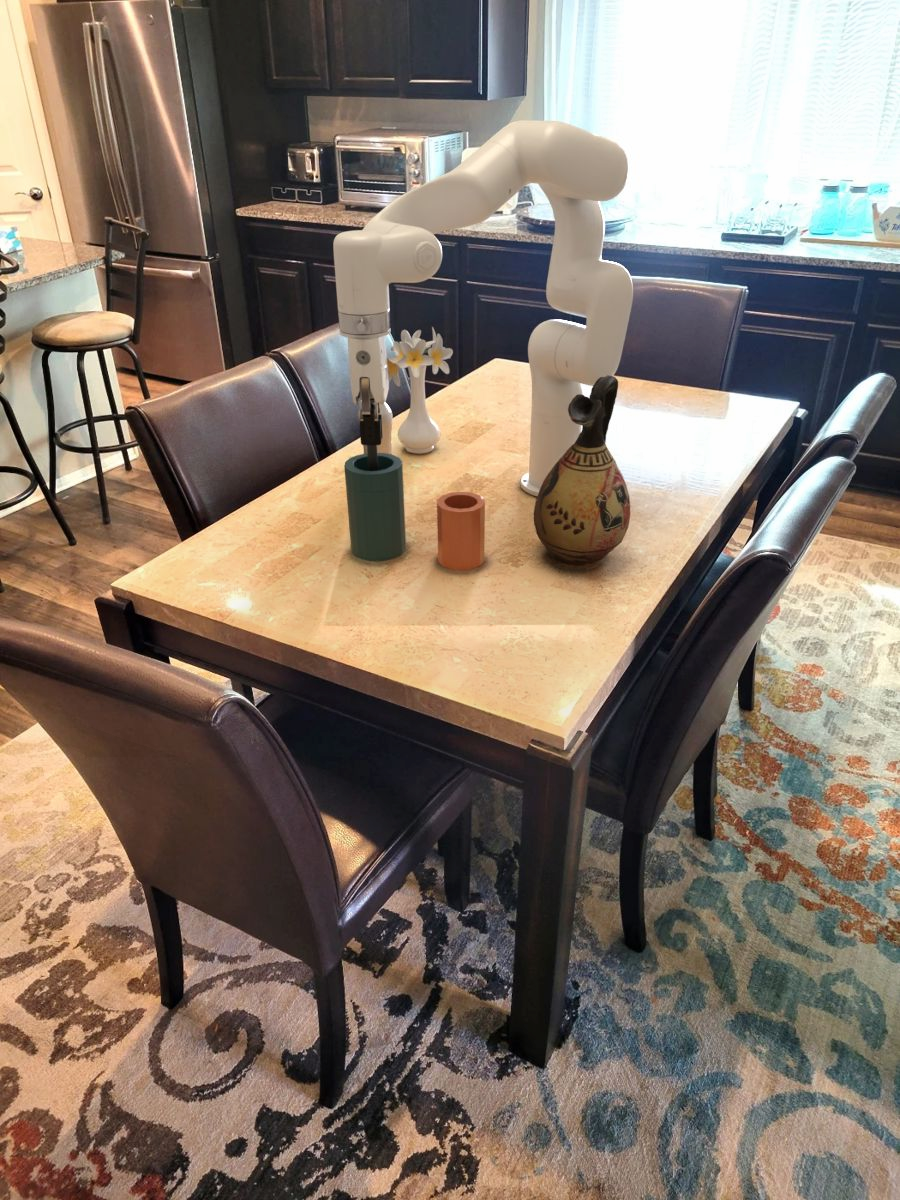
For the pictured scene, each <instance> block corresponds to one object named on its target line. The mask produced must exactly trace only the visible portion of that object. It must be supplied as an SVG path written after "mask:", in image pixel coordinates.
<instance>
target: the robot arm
mask: <svg viewBox="0 0 900 1200" xmlns="http://www.w3.org/2000/svg"><path fill="white" fill-rule="evenodd" d="M629 163H630V162H629V159H628V155H627V153H626V152H625V149H624V148H623V147H622V146H621V145H620V144H619V143H618V142H616V141H614V140H612V139H609V138H606V137H604V136H601V135H598V134H596V133H593V132H591V131H589V130H586V129H583V128H581V127H578V126H576V125H573V124H569V123H567V122H564V121H559V120H537V119H536V120H531V119H522V120H521V119H520V120H515V121H512V122H510V123H508V124H506V125H505V126H503V127H502V128H501V129H500V130H498V131H497V132H496V133H495V134H493V136H491V137H490V138H489V139H487V141H486V142H484V143H483V144H482V145H480V146H479V148H477V149H476V150H475V151H474V152H473V153H472V154H470V155H469V156H467V158H465V159H464V160H463V161H462V162H461V163H459V164H458V165H457V166H456V167H455V168H453V169H452V170H451V171H448V172H447V173H444V174H442V175H440V176H437V177H435V178H433V179H431V180H429V181H427V182H425V183H423V184H422V185H419V186H417V187H415V188H412V189H411V190H409V191H407V192H405V193H403V194H402V195H400V196H398V197H396V199H394V200H393V201H391V202H390V203H388V204H387V205H386V206H385V207H384V208H382V209H381V210H380V211H379V212H377V214H375V215H374V216H373V217H372V218H371V219H370V220H369V221H368V222H367V223H366V224H365V225H364V227H363V229H360V230H359V229H357V230H348V231H347V230H346V231H343V232H340V233H338V234H337V235H336V236H335V237H334V239H333V246H332V247H333V249H332V250H333V264H334V276H335V289H336V302H337V313H338V324H339V325H338V328H339V335H340V336H341V337H343V338H347V349H348V352H347V353H348V365H349V377H350V379H349V380H350V389H351V397H352V403H354V404H355V405H358V408H359V410H358V412H360V420H359V421H358V424H360V425H359V436H360V437H359V438H360V444H361V446H363V445H380V444H381V439H382V437H383V433H382V415H381V414H380V403H381V404H384V403H385V402H386V401H387V398H388V394H389V389H390V382H389V381H388V370H387V356H388V355H387V345H386V336H387V335H390V334H391V310H390V309H391V308H390V288H389V285H390V284H392V283H401V284H402V283H405V284H406V283H407V284H409V283H410V284H415V283H416V284H417V283H422V282H425V281H427V280H429V279H430V278H432V277H433V276H434V275H436V273H437V272H438V270H439V269H440V268H441V264H442V261H443V248H442V244H441V243H440V241H439V239H438V238H437V237H436V236H435V234H438V233H441V232H445V231H451V230H457V229H463V228H467V227H471V226H475V225H476V224H480V223H483V222H485V221H487V220H488V219H489V218H490V217H492V216H493V215H494V214H495V213H496V212H498V210H499V209H500V208H502V207H503V206H504V205H505V204H507V202H509V201H510V200H511V199H512V198H513V197H514V196H516V194H518V193H519V192H520V191H521V190H522V189H523V188H524V187H525V186H528V185H530V184H537V185H538V186H539V188H540V189H541V190H542V193H544V195H545V197H546V198H547V200H548V202H549V204H550V207H551V209H552V212H553V217H554V232H553V243H552V248H551V254H550V259H549V266H548V272H547V273H548V274H547V279H546V288H545V295H546V296H545V297H546V300H547V303H548V304H549V306H550V307H551V308H552V309H554V310H557V311H559V312H562V313H565V314H569V315H573V316H577V317H581V318H585V319H586V321H585V325H584V324H581V323H577V322H573V321H568V320H564V319H548V320H545V321H543V322H541V323H539V324H538V325H537V326H536V327H535V328H534V329H533V330H532V332H531V334H530V337H529V340H528V343H527V357H528V364H529V370H530V371H529V372H530V378H531V379H530V380H531V407H530V408H531V409H530V434H529V435H530V436H529V437H530V438H529V457H528V458H529V459H528V460H529V461H528V472H527V473H525V474H524V475H522V477H521V478H520V488H521V489H522V490H523V491H524V492H525V493H527V494H530V495H532V496H535V497H537V496H538V493H539V491H540V488H541V486H542V483H543V481H544V480H545V478H546V476H547V475H548V473H549V472H550V471H551V469H552V468H553V467H554V465H555V464H556V463H557V462H558V461H559V459H560V458H561V457H562V456H563V455H564V454H565V452H566V451H567V450H568V449H569V448H570V447H571V446H572V445H573V444H574V443H575V442H576V440H577V438H578V437H579V434H580V433H581V431H582V425H579V424H576V423H574V422H573V421H572V420H571V418H570V416H569V413H568V407H569V404H570V403H571V401H572V399H573V398H574V397H575V396H576V395H578V394H582V395H584V394H583V389H582V385H581V384H583V385H586V386H589V387H593V385H594V384H595V382H596V381H597V380H598V379H599V378H600V377H606V376H607V375H610V376H613V377H615V374H616V372H617V370H618V368H619V365H620V362H621V359H622V355H623V351H624V345H625V341H626V335H627V331H628V325H629V321H630V316H631V311H632V305H633V299H634V285H633V280H632V276H631V274H630V272H629V271H628V269H627V268H625V266H624V265H622V264H620V263H617V262H614V261H609V260H604V259H602V254H603V247H604V240H605V233H606V232H605V231H606V220H605V215H604V211H603V208H602V205H601V203H600V202H608V201H610V200H613V199H614V198H617V196H619V195H620V194H621V192H622V191H623V190H624V188H625V186H626V185H627V182H628V179H629V173H630V164H629ZM386 403H387V402H386Z"/></svg>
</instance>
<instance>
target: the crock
mask: <svg viewBox="0 0 900 1200" xmlns="http://www.w3.org/2000/svg"><path fill="white" fill-rule="evenodd" d="M436 524H437V526H436V527H437V562H438V563H439V565H440V566H442V567H443V568H446V569H448V570H453V571H469V570H474V569H477V568H479V567H480V566H482V565H483V564H484V562H485V541H486V539H485V537H486V535H485V531H486V529H485V527H486V501H485V498H484V497H483V496H481V495H480V494H477V493H474V492H470V491H469V492H468V491H454V492H449V493H445V494H442V495H441V496H440V497H438V498H437V499H436Z"/></svg>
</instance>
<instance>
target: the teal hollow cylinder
mask: <svg viewBox="0 0 900 1200" xmlns="http://www.w3.org/2000/svg"><path fill="white" fill-rule="evenodd" d="M403 465H404V464H403V460H402V459H401V458H400V457H399V456H397V455H394V454H393V453H392V454H387V453H378V471H369V470H368V455H367V453H366V454H364V453H362V454H357V455H354V456H352V457H349V458H348V459H347V460H346V461H345V462H344V478H345V489H346V503H347V504H346V505H347V514H348V515H347V516H348V527H349V529H348V530H349V540H350V549H351V553H352V555H353V556H354V557H355V558H357V559H359V560H363V561H365V562H386V561H392V560H394V559H397V558H399V557H400V556H402V555H403V554H404V553H405V552H406V550H407V537H406V536H407V534H406V533H407V532H406V514H405V513H406V512H405V490H404V467H403Z"/></svg>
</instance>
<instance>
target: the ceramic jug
mask: <svg viewBox="0 0 900 1200" xmlns="http://www.w3.org/2000/svg"><path fill="white" fill-rule="evenodd" d="M618 389H619V380H618V378H617V377H616V376H610V375H607V376H606V377H600V378H599V379H598V380H597V381H596V382H595V384H594V385H593V386H591V390H590V391H591V392H590V394H589V397H588V396H585V395H584V394H583V393H582V394H583V395H582V394H578V395H576V396H575V397H574V398H573V399H572V401H571V403H570V404H569V407H568V413H569V416H570V418H571V420H572V421H573V422H574V423H576V424H579V425H581V433H580V434H579V437H578V438H577V440H576V442H575V443H574V444H573V445H572V446H571V447H570V448H569V449H568V450H567V451H566V452H565V454H564V455H563V456H562V457H561V458H560V459H559V461H558V462H557V463H556V464H555V465H554V467H553V468H552V469H551V471H550V472H549V473H548V475H547V476H546V478H545V480H544V481H543V483H542V486H541V488H540V491H539V493H538V496H536V500H535V504H534V508H533V525H534V528H535V532H536V535H537V537H538V539H539V541H540V542H541V543H542V545H543V548H545V550H546V552H547V553H548V558H550V559H551V560H552V561H554V563H556V564H558V565H560V566H564V567H568V568H584V571H586V570H592V569H594V568H596V567H598V566H600V565H601V564H602V563H603V560H604V559H605V558H606V557H607V556H608V555H609V554H610V553H611V552H613V550H614V549H616V548H617V547H618V546H619V545H620V544H621V543H622V542H623V540H624V538H625V536H626V534H627V531H628V529H629V525H630V520H631V498H630V494H629V490H628V485H627V483H626V480H625V478H624V476H623V474H622V471H621V470H620V468H619V466H618V464H617V461H616V460H615V458H614V456H613V455H612V453H611V451H610V450H609V447H608V446H607V444H606V442H607V434H608V431H609V426H610V422H611V419H612V416H613V411H614V407H615V405H616V399H617V396H618Z"/></svg>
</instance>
